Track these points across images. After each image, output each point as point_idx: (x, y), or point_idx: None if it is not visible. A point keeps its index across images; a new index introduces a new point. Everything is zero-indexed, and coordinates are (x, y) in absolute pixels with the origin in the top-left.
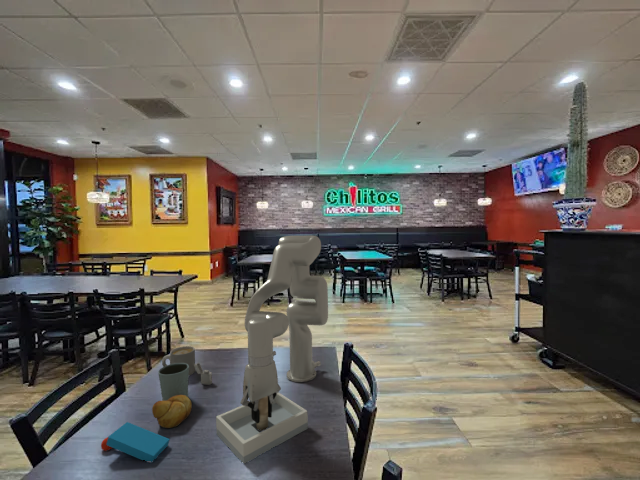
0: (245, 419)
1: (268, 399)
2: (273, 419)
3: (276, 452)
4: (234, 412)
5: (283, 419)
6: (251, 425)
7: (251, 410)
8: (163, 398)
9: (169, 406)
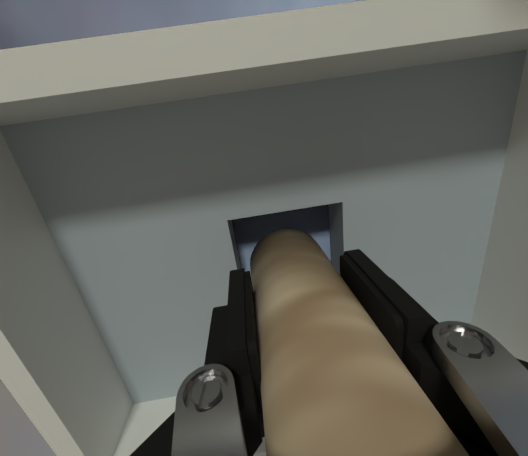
0: (214, 132)
1: (453, 405)
2: (372, 247)
3: None
4: (74, 98)
5: (415, 278)
6: (229, 230)
7: (204, 363)
8: None
9: None
